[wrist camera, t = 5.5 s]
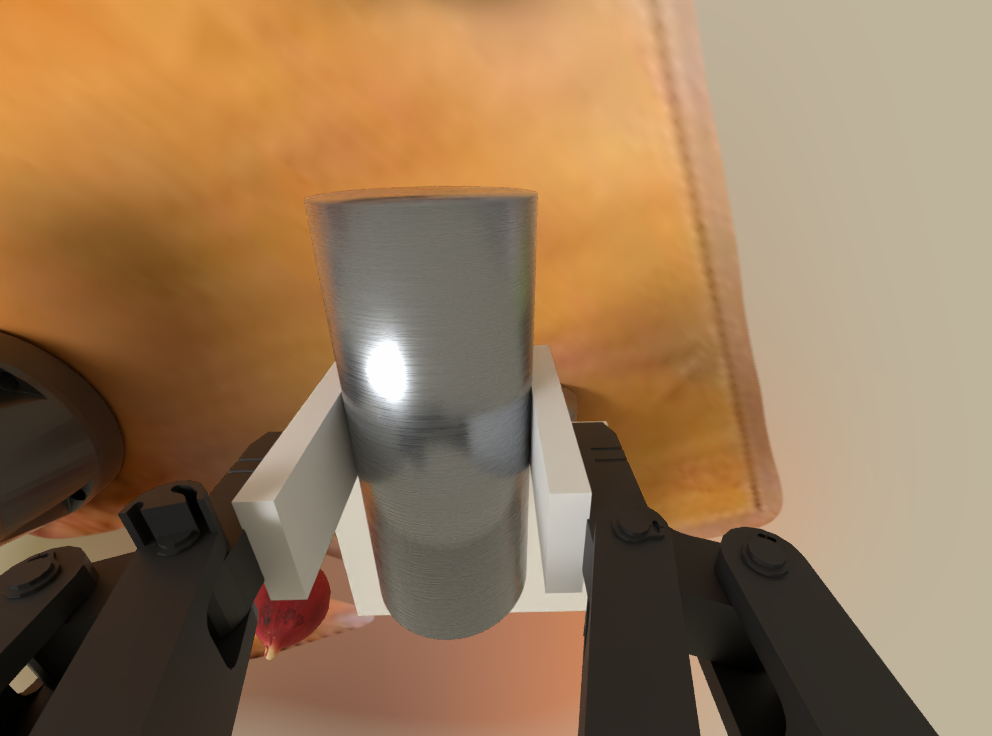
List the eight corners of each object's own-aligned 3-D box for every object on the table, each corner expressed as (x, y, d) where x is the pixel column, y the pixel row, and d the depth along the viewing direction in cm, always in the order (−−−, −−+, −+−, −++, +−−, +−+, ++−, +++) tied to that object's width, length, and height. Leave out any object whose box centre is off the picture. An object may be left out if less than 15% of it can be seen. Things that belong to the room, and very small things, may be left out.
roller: (415, 503, 18) (351, 619, 13) (375, 185, 12) (246, 204, 8) (536, 525, 17) (509, 658, 12) (551, 186, 11) (511, 208, 7)
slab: (373, 563, 32) (358, 615, 28) (342, 427, 26) (319, 471, 23) (591, 558, 32) (604, 610, 28) (606, 421, 26) (624, 464, 23)
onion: (266, 544, 38) (213, 637, 31) (329, 536, 37) (290, 628, 30) (290, 588, 40) (247, 682, 33) (350, 581, 40) (319, 674, 33)
